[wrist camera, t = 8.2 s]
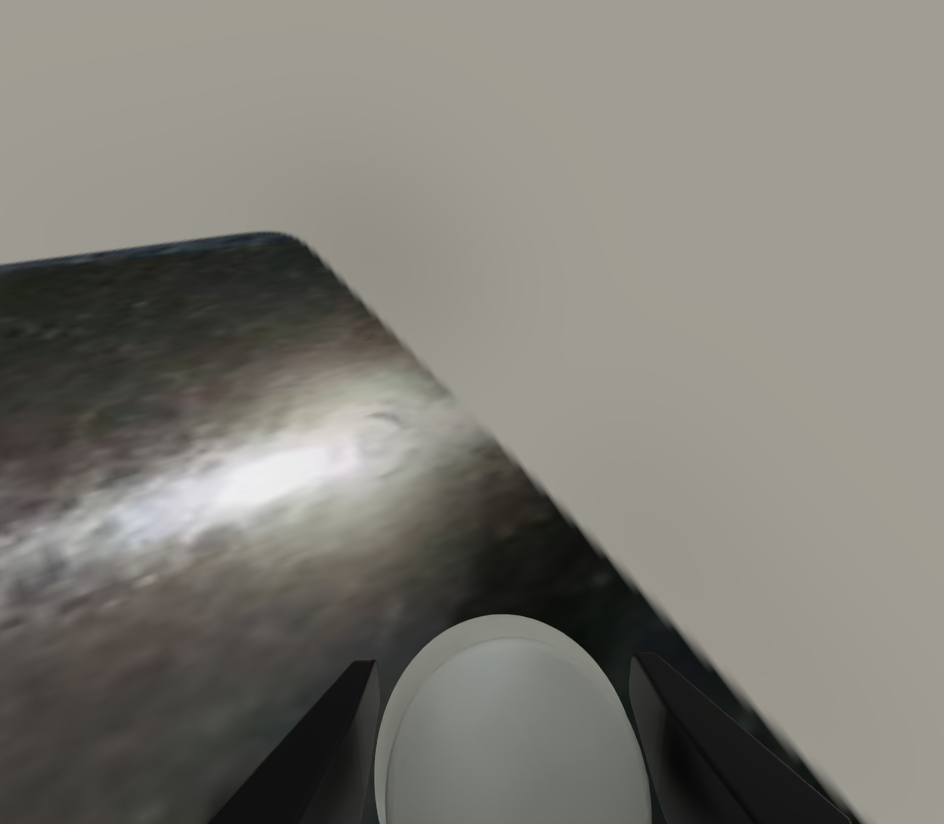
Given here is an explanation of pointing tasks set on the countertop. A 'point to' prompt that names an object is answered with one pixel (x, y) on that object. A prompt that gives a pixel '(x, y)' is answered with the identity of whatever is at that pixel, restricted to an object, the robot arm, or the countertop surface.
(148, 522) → the countertop surface
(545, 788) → the supplement bottle
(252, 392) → the countertop surface
